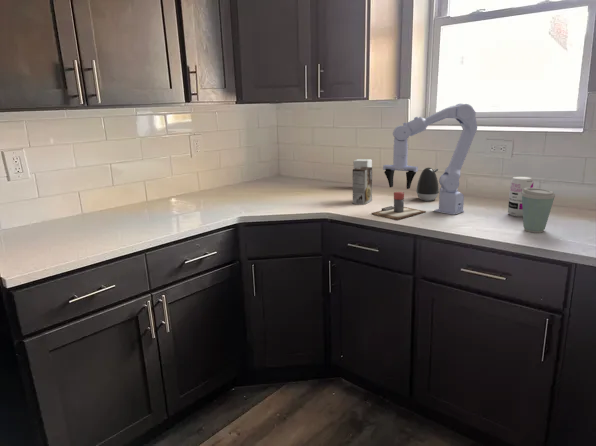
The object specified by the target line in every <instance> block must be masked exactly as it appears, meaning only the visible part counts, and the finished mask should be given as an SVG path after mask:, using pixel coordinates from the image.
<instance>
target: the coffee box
mask: <svg viewBox="0 0 596 446" xmlns="http://www.w3.org/2000/svg"><path fill="white" fill-rule="evenodd" d="M372 201H373V166H372V167H358V168H355V169H354V168H353V169H352V204H354V205H363V206H365V205H367V204H368V203H370V202H372Z"/></svg>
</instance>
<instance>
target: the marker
mask: <svg viewBox="0 0 596 446" xmlns="http://www.w3.org/2000/svg"><path fill="white" fill-rule="evenodd" d="M404 202H405V192H404V191H395V192H393V207H394V212H396V213H401V212H404V207H405V205H404Z"/></svg>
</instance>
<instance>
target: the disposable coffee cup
mask: <svg viewBox="0 0 596 446" xmlns="http://www.w3.org/2000/svg"><path fill="white" fill-rule="evenodd" d="M521 195H522V207H523V217H522V221H523V222H522V223H523V226H522V227H523V229H524V231H525V232H529V233H536V234H537V233H538V234H540V233H543V232H545V230H546V227H547V223H548V220H549V218H550V213H551V209H552V208H553V207H552V206H553V203H554V201H555V198H556V193H554V191H552V190H549V189H545V188H540V187H533V188H524V189H523V191H522V193H521Z"/></svg>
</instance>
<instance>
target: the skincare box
mask: <svg viewBox="0 0 596 446" xmlns="http://www.w3.org/2000/svg"><path fill="white" fill-rule="evenodd" d="M352 162H353V165H352V166H353V169H355V168H358V167H372V168H373V160H372V159H370V158H369V159H368V158H366V159H365V158H357V159H354V160H353V161H352Z"/></svg>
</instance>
